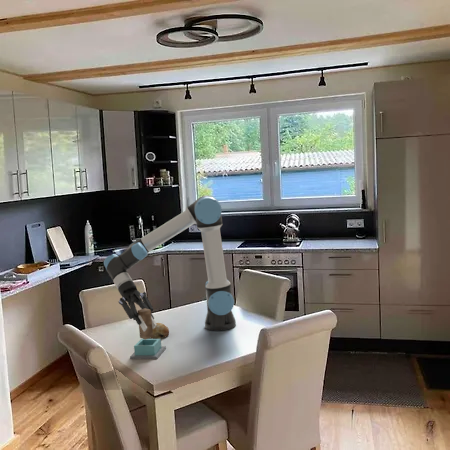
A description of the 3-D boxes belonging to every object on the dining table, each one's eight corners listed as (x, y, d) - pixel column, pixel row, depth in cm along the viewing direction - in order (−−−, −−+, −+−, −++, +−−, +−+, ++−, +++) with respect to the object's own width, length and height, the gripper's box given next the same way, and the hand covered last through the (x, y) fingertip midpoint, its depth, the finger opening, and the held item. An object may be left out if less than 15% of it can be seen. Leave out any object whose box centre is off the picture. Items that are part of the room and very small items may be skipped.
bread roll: (151, 347, 242) (152, 334, 239) (144, 333, 250) (145, 320, 246) (171, 342, 247) (172, 329, 243) (163, 328, 255) (164, 316, 251)
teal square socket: (166, 348, 228) (165, 337, 228) (157, 358, 217) (156, 347, 216) (140, 348, 231) (139, 337, 230) (130, 358, 219) (129, 347, 219)
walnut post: (147, 335, 225) (145, 308, 224) (153, 336, 223) (150, 309, 221) (140, 337, 223) (137, 310, 221) (145, 339, 220) (142, 312, 218)
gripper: (138, 286, 238) (163, 327, 228) (105, 294, 226) (130, 338, 216) (144, 276, 233) (169, 318, 223) (111, 283, 222) (136, 328, 211)
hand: (150, 328), depth 220 cm, fingers closed on walnut post, 4 cm apart
